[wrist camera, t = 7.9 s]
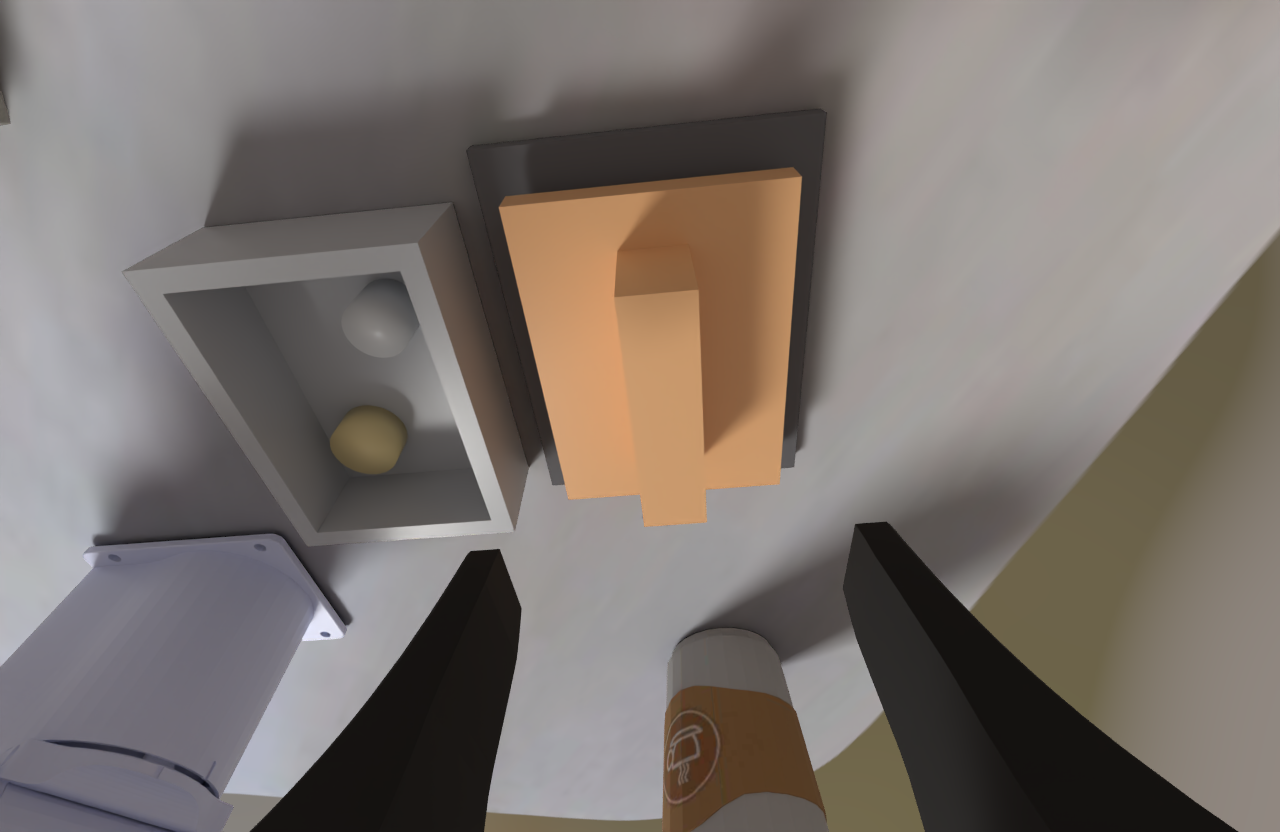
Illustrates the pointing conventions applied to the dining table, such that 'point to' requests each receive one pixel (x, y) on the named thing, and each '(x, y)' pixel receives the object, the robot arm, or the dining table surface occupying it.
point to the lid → (661, 331)
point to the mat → (651, 160)
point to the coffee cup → (734, 741)
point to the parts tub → (348, 369)
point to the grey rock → (3, 112)
